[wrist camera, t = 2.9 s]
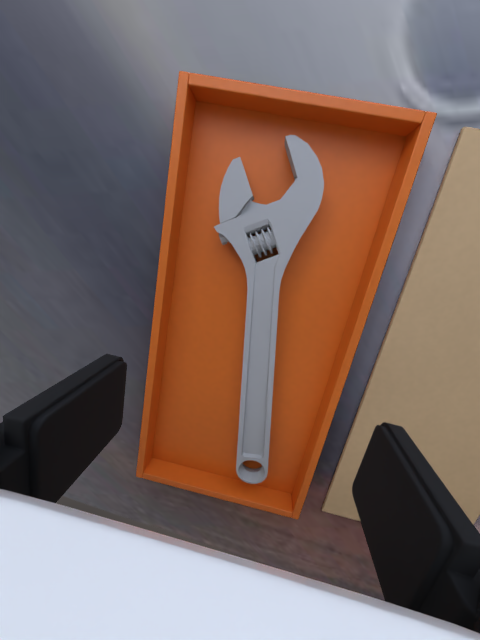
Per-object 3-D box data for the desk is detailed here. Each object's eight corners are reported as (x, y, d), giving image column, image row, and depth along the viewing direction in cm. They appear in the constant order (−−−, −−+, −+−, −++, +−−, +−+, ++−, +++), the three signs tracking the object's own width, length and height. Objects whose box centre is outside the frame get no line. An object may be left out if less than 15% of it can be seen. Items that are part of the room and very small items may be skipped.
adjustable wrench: (267, 472, 23) (267, 489, 22) (197, 458, 24) (191, 474, 22) (327, 152, 17) (333, 141, 15) (226, 143, 17) (220, 132, 15)
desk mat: (321, 508, 24) (322, 511, 24) (461, 128, 16) (464, 126, 15) (457, 544, 23) (460, 547, 23) (680, 164, 15) (688, 163, 15)
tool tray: (146, 458, 25) (135, 476, 23) (189, 91, 17) (178, 70, 15) (296, 497, 24) (298, 520, 22) (417, 129, 16) (438, 112, 14)
